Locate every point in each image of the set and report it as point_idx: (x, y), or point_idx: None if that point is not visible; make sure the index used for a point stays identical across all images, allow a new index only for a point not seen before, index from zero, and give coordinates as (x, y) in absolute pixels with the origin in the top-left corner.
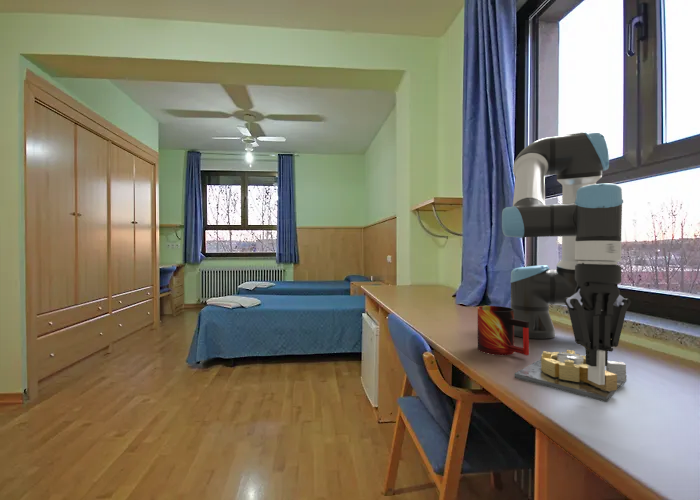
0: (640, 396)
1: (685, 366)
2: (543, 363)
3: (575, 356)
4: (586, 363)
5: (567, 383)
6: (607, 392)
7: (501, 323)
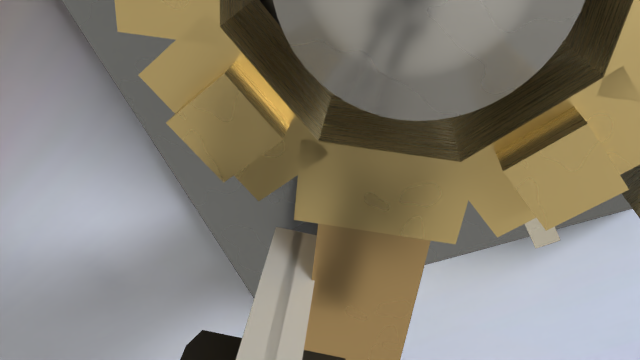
0: (529, 309)
1: None
2: None
3: (485, 8)
4: (199, 337)
5: None
6: None
7: None
